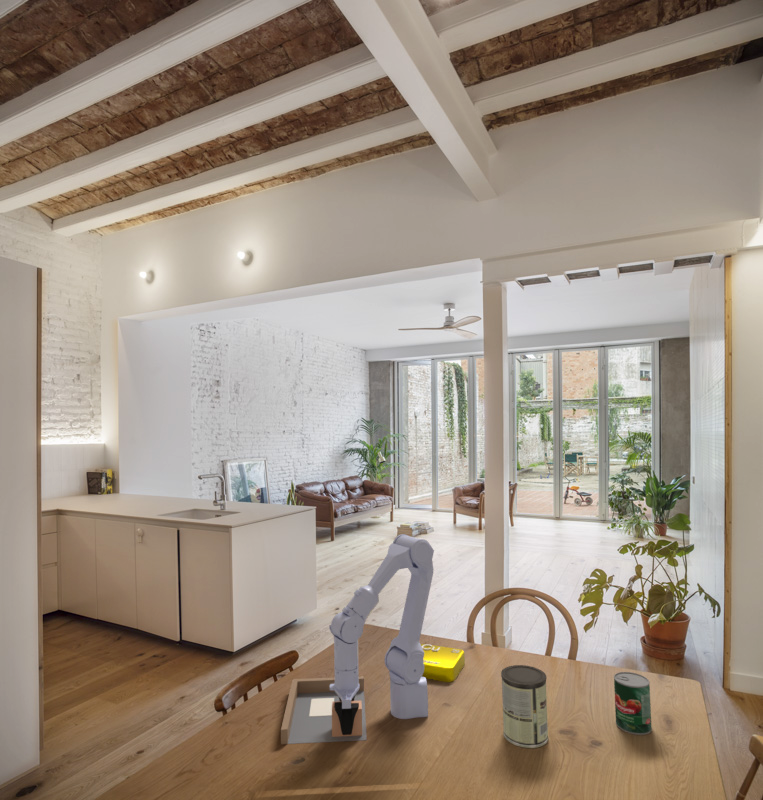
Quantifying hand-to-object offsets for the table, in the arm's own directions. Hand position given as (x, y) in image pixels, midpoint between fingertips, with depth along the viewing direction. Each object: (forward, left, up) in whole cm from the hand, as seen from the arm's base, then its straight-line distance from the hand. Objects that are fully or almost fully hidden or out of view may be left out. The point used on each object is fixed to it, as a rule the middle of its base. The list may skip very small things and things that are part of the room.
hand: (347, 725), depth 130 cm
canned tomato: (-69, +2, -2) cm, 69 cm away
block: (0, 0, -1) cm, 1 cm away
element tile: (-26, -34, -3) cm, 43 cm away
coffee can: (-42, +4, -2) cm, 42 cm away
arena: (+5, -9, -2) cm, 10 cm away
